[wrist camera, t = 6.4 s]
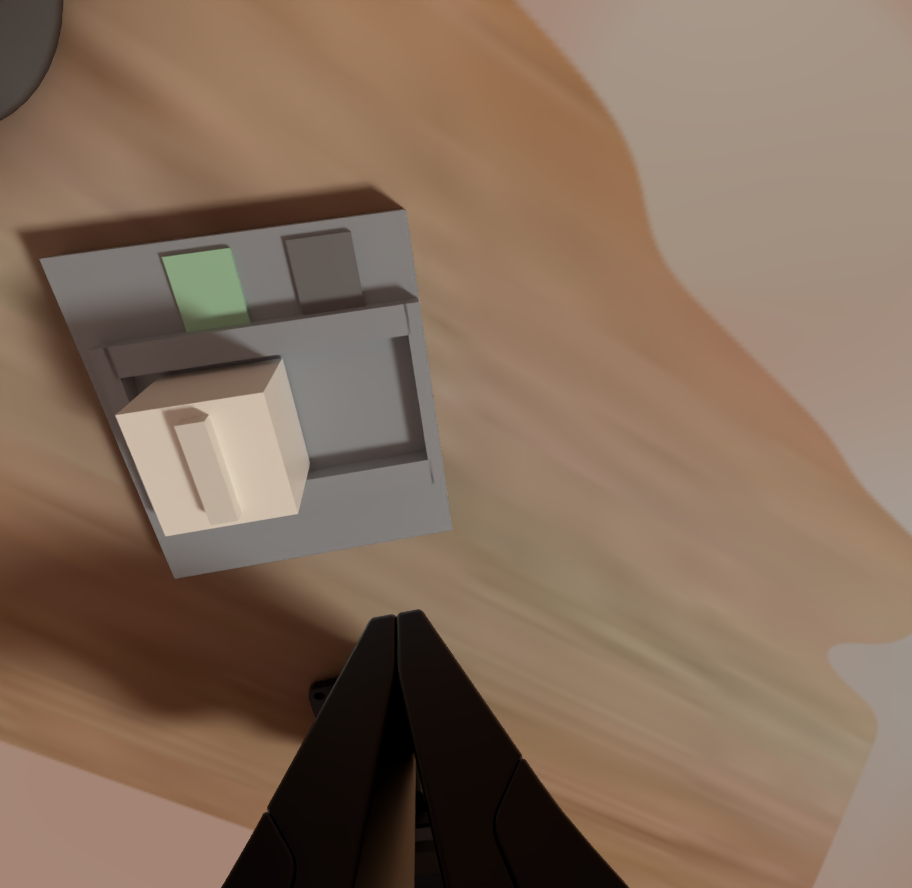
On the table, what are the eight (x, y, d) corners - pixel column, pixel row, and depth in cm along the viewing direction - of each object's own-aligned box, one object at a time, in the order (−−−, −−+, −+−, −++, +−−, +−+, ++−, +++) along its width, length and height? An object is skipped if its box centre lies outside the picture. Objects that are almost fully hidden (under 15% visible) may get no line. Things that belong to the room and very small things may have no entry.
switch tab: (310, 463, 20) (295, 522, 17) (198, 481, 20) (159, 546, 16) (282, 357, 18) (259, 398, 15) (160, 376, 18) (107, 422, 15)
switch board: (449, 514, 23) (455, 541, 22) (184, 560, 23) (167, 592, 21) (404, 208, 18) (407, 210, 16) (60, 254, 18) (23, 261, 16)
